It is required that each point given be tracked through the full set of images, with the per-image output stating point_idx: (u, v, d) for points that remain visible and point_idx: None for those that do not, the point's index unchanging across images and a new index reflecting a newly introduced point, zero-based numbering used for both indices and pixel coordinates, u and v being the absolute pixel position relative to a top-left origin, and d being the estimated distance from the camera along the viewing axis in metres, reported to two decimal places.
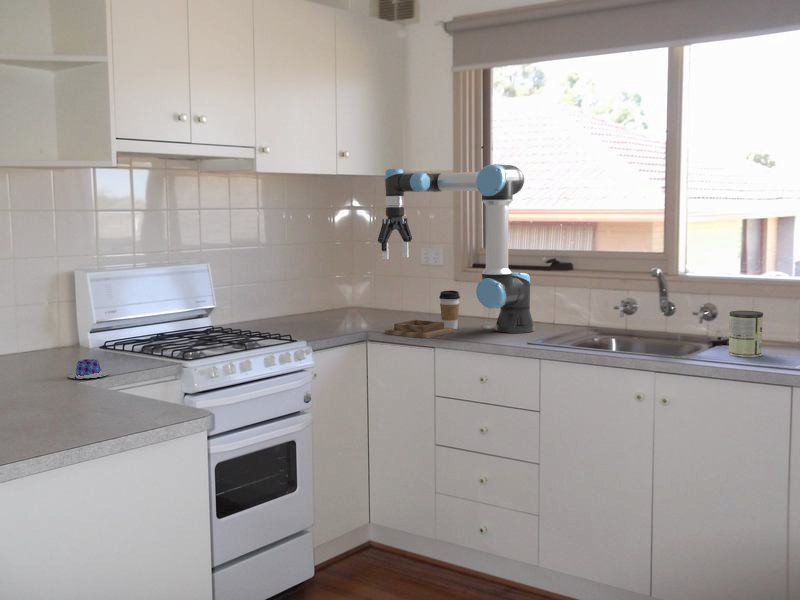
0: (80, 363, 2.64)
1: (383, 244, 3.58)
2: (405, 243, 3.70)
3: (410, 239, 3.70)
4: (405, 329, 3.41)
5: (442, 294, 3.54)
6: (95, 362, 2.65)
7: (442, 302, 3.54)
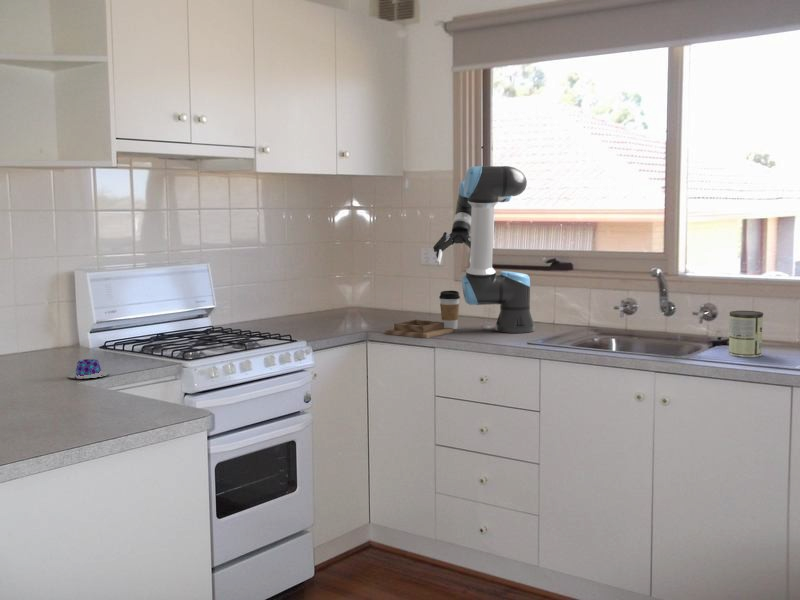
0: (80, 363, 2.64)
1: (437, 251, 3.70)
2: None
3: None
4: (405, 329, 3.41)
5: (442, 294, 3.54)
6: (95, 362, 2.65)
7: (442, 302, 3.54)
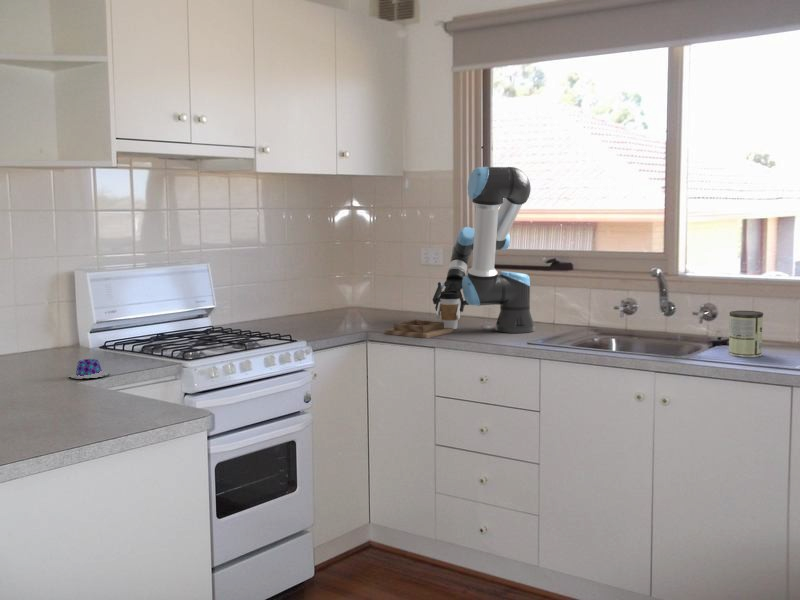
0: (80, 363, 2.64)
1: None
2: None
3: (463, 300, 3.55)
4: (405, 329, 3.41)
5: (442, 294, 3.54)
6: (95, 362, 2.65)
7: (442, 302, 3.54)
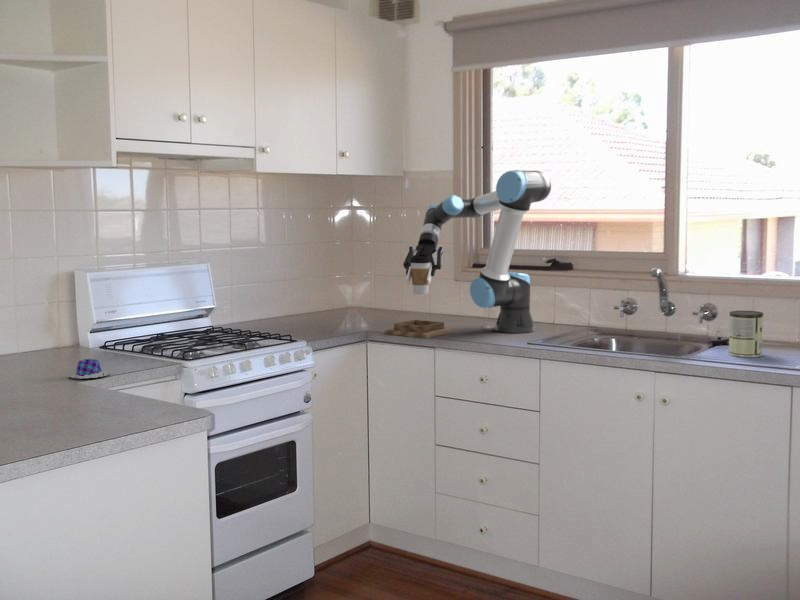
0: (79, 363, 2.64)
1: (407, 268, 3.47)
2: None
3: (434, 264, 3.43)
4: (405, 329, 3.41)
5: (412, 258, 3.42)
6: (94, 362, 2.64)
7: (412, 266, 3.43)
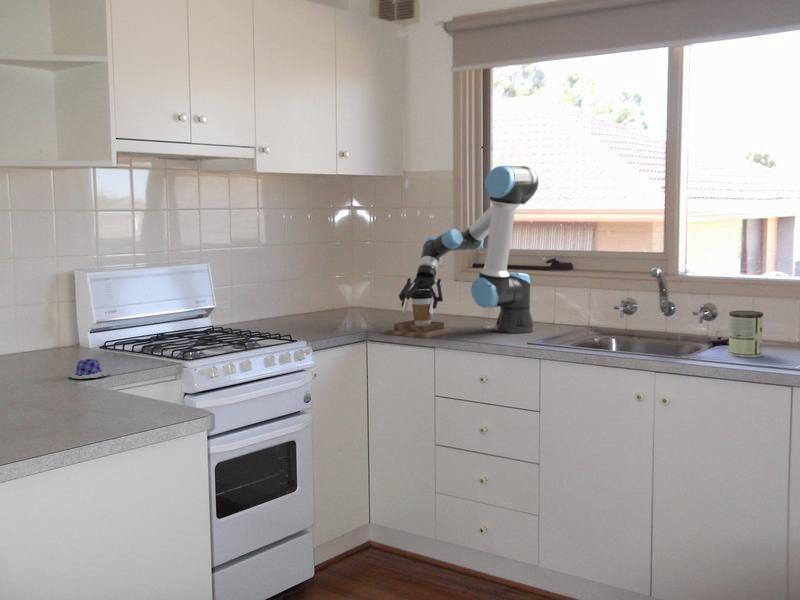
0: (79, 363, 2.64)
1: None
2: None
3: (436, 296, 3.43)
4: (405, 329, 3.41)
5: (413, 294, 3.42)
6: (93, 363, 2.64)
7: (414, 302, 3.42)
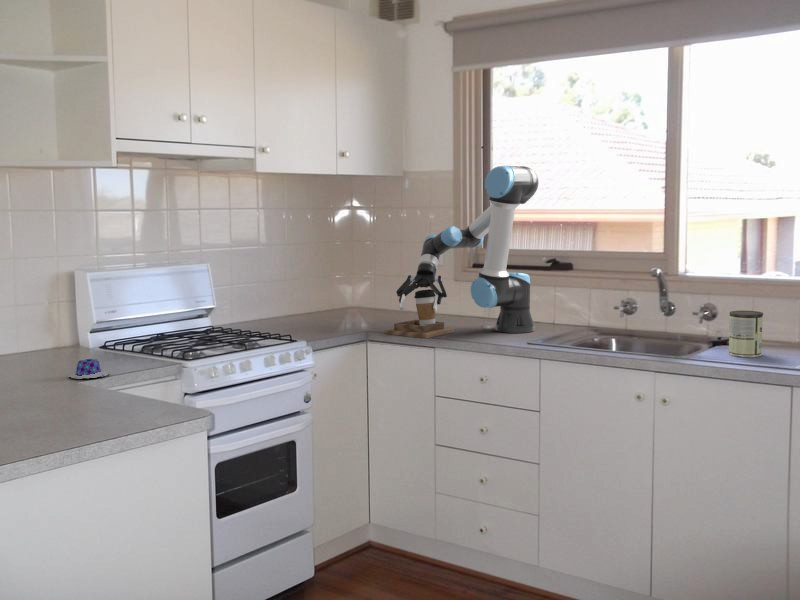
0: (78, 363, 2.64)
1: (400, 296, 3.49)
2: None
3: (440, 292, 3.44)
4: (405, 329, 3.41)
5: (416, 293, 3.43)
6: (92, 363, 2.64)
7: (417, 301, 3.43)
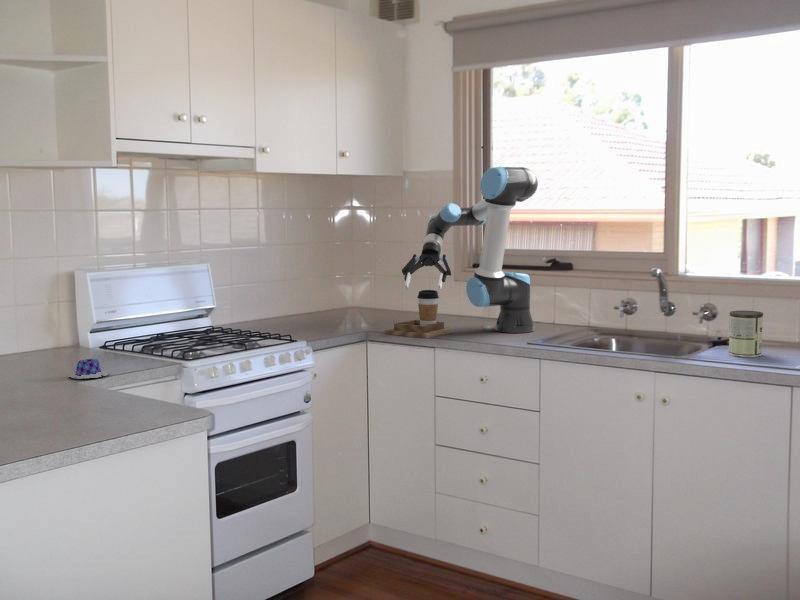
0: (78, 363, 2.64)
1: None
2: None
3: (445, 270, 3.51)
4: (405, 329, 3.41)
5: (420, 294, 3.42)
6: (92, 363, 2.64)
7: (420, 302, 3.42)
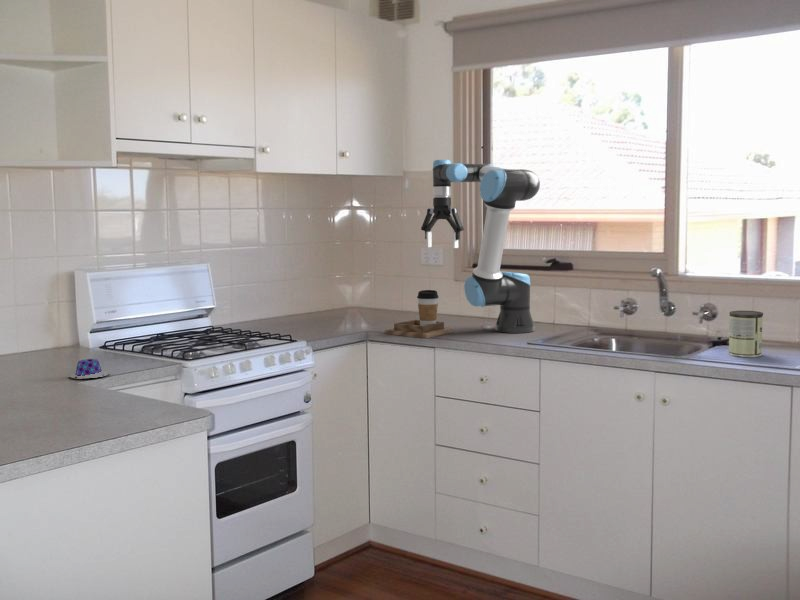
0: (78, 362, 2.65)
1: None
2: None
3: (456, 230, 3.66)
4: (405, 329, 3.41)
5: (420, 294, 3.42)
6: (91, 363, 2.64)
7: (420, 302, 3.42)
